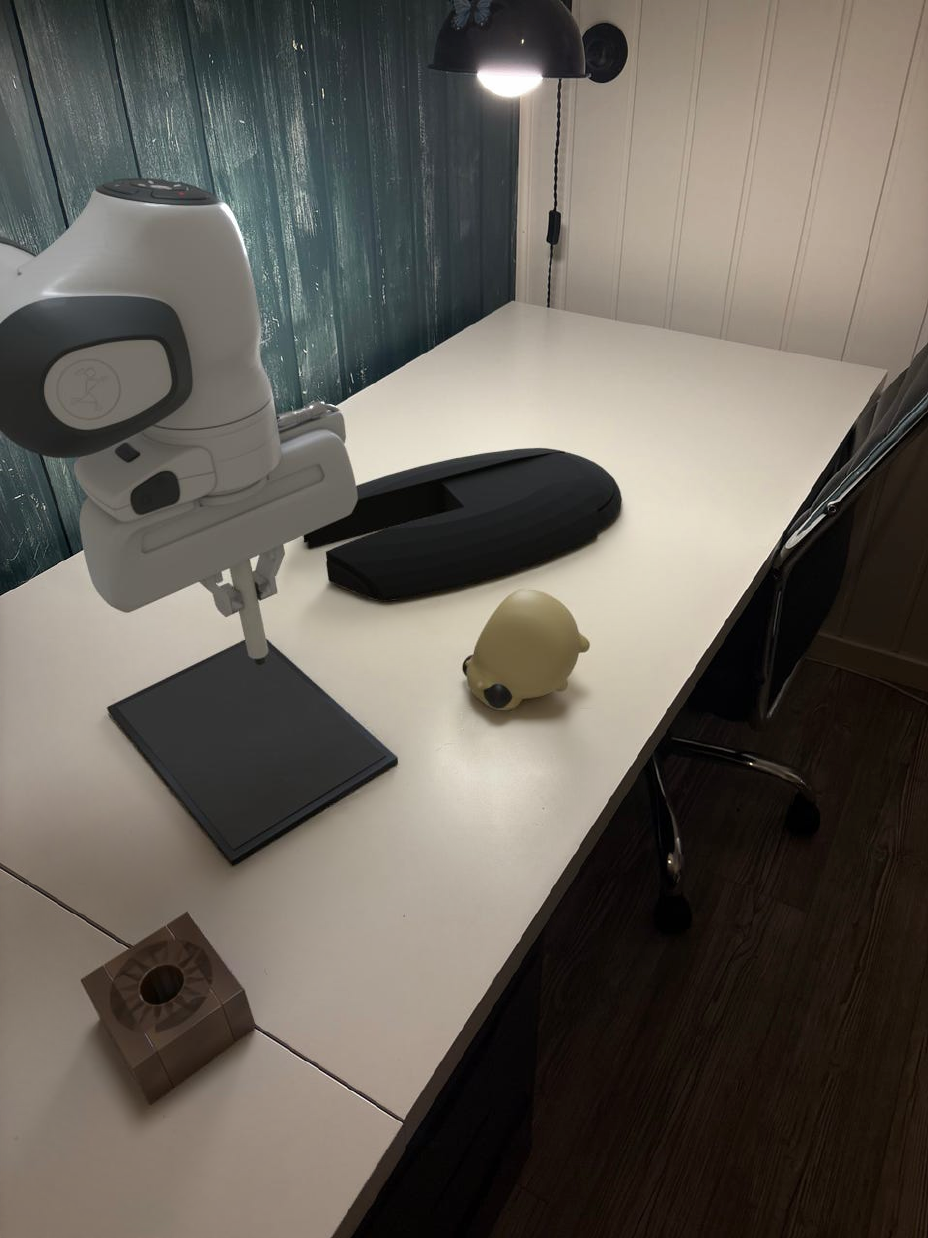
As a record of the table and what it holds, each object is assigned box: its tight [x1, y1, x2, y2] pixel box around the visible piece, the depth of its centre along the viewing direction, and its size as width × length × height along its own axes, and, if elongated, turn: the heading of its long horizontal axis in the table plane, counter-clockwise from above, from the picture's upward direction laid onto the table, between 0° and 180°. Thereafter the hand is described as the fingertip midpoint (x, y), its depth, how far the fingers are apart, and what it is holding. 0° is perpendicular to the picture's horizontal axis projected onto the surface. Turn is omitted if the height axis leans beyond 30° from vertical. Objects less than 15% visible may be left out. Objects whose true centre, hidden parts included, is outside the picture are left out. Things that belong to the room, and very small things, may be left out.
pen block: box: [80, 911, 257, 1106], centre depth 63 cm, size 8×8×5 cm
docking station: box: [302, 447, 623, 602], centre depth 113 cm, size 25×40×5 cm, turn 116°
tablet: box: [106, 638, 399, 867], centre depth 86 cm, size 17×24×1 cm
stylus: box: [228, 559, 268, 665], centre depth 70 cm, size 2×2×14 cm
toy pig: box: [461, 588, 591, 711], centre depth 88 cm, size 10×12×11 cm
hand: (247, 602), depth 70 cm, fingers closed on stylus, 1 cm apart
